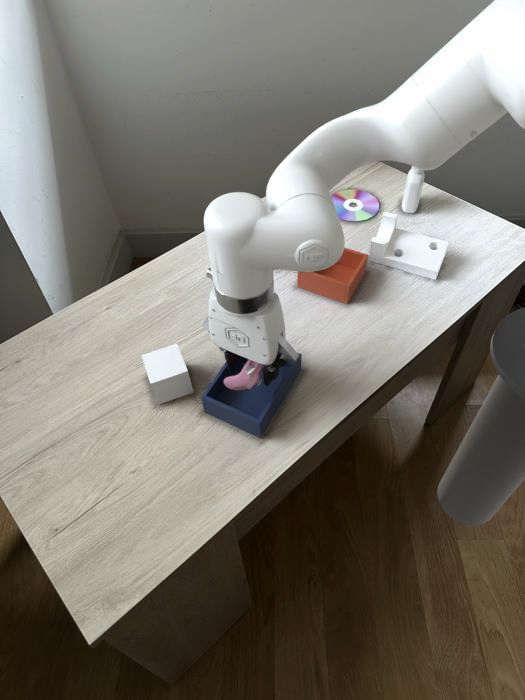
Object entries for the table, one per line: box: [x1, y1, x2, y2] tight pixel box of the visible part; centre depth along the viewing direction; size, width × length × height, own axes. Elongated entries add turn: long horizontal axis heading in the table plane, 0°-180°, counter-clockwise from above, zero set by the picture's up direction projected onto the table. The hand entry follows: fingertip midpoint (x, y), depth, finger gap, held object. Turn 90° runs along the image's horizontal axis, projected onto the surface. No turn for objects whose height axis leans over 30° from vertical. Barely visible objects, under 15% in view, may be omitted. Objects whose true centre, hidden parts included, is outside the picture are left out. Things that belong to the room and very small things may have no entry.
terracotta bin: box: [296, 247, 369, 305], centre depth 97 cm, size 10×9×5 cm
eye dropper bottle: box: [401, 166, 426, 214], centre depth 107 cm, size 4×6×12 cm
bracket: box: [369, 211, 450, 281], centre depth 99 cm, size 13×7×8 cm, turn 64°
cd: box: [331, 189, 380, 222], centre depth 113 cm, size 11×11×1 cm
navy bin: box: [200, 352, 303, 439], centre depth 83 cm, size 10×14×5 cm
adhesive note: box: [140, 343, 194, 406], centre depth 84 cm, size 6×6×6 cm
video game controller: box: [224, 359, 265, 390], centre depth 79 cm, size 10×5×7 cm, turn 152°
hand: (252, 370), depth 80 cm, fingers closed on video game controller, 5 cm apart
